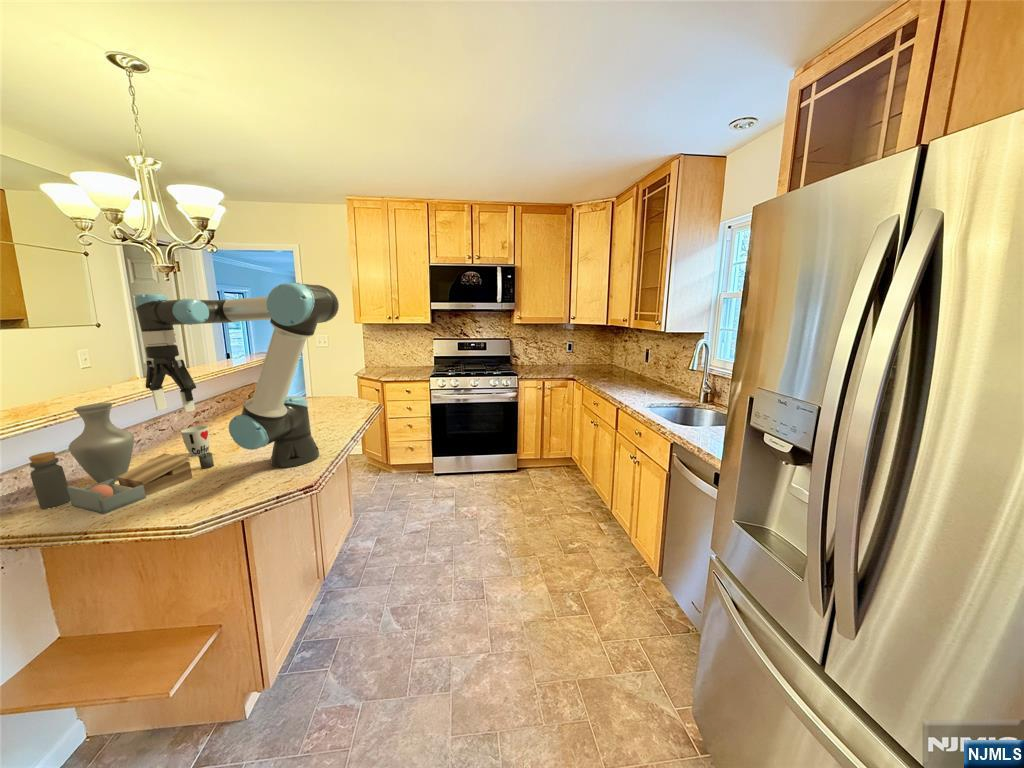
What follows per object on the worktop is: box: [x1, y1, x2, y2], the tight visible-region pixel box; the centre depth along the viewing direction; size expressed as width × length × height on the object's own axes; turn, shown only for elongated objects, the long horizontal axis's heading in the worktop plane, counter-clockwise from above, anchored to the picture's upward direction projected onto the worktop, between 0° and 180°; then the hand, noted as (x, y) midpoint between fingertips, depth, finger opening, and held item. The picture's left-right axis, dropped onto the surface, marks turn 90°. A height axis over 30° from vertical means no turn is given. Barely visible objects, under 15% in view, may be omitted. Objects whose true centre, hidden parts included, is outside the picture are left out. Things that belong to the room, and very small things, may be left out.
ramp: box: [117, 453, 194, 497], centre depth 119 cm, size 12×13×7 cm
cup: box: [180, 425, 211, 457], centre depth 145 cm, size 8×8×10 cm
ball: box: [90, 485, 113, 499], centre depth 107 cm, size 5×5×5 cm
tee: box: [197, 451, 215, 470], centre depth 132 cm, size 4×4×5 cm
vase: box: [68, 402, 135, 484], centre depth 122 cm, size 14×14×25 cm
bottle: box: [28, 451, 71, 510], centre depth 107 cm, size 6×6×15 cm
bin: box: [67, 479, 147, 515], centre depth 109 cm, size 15×10×6 cm, turn 71°
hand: (175, 410), depth 123 cm, fingers open, 13 cm apart
